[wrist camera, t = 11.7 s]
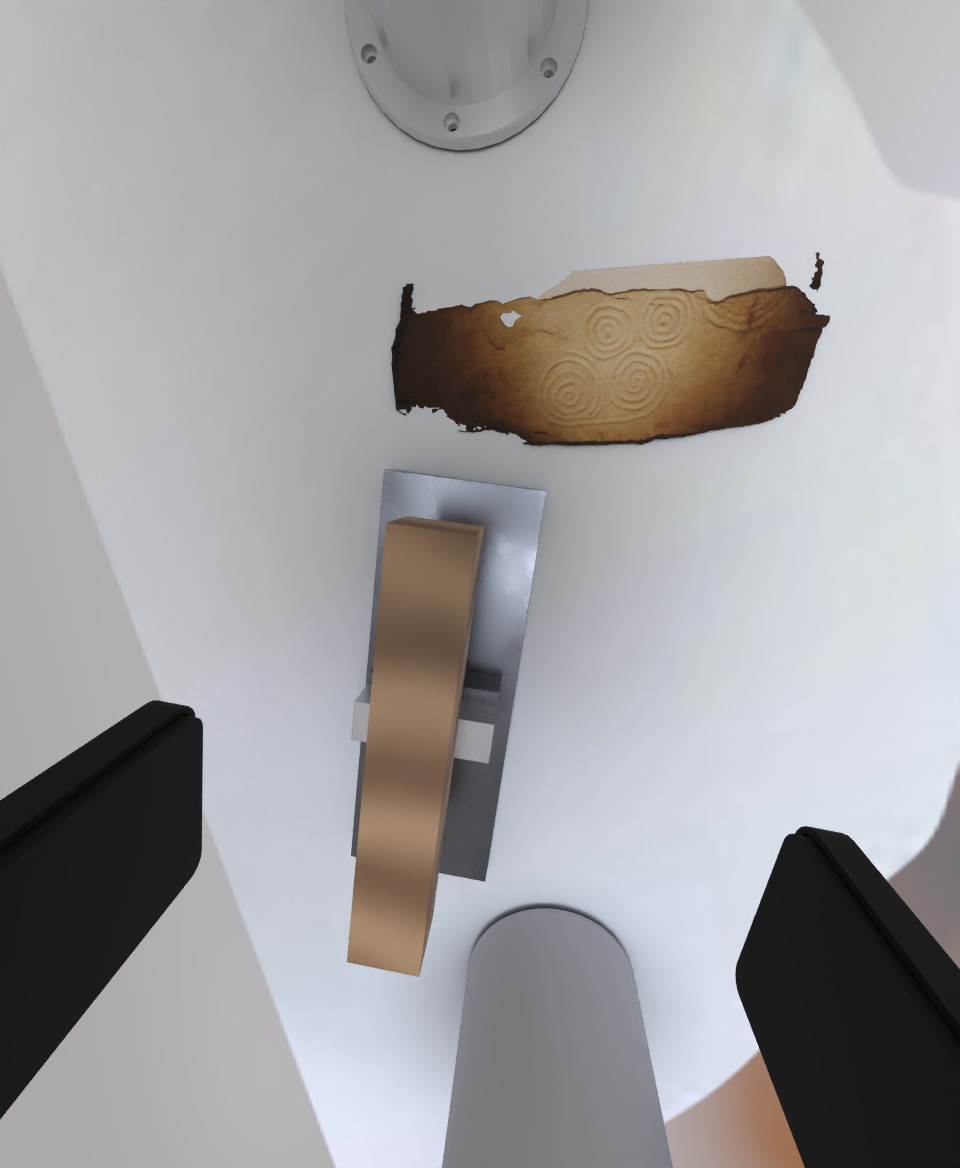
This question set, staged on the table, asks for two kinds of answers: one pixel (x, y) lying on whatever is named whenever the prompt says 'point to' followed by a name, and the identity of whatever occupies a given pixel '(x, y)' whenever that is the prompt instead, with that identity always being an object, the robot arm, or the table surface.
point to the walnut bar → (411, 736)
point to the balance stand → (470, 647)
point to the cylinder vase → (553, 1053)
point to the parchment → (616, 354)
